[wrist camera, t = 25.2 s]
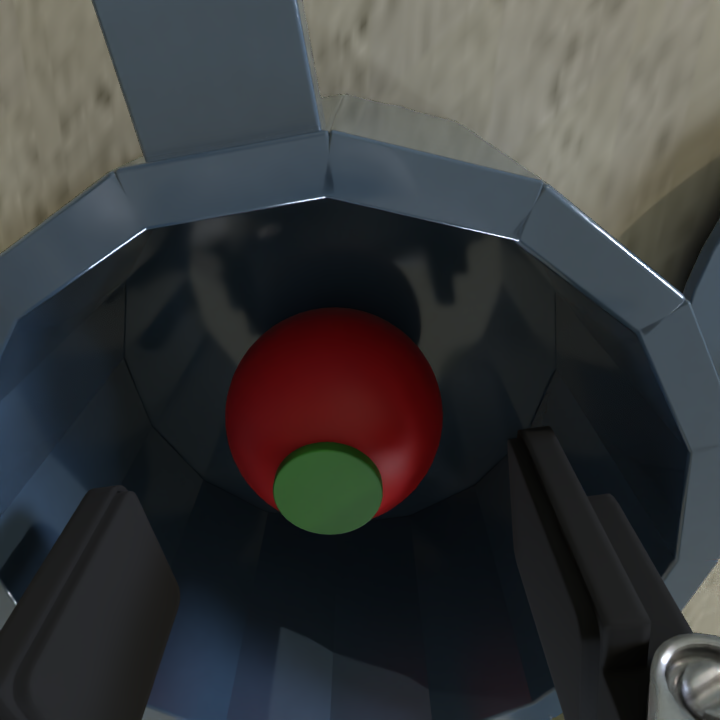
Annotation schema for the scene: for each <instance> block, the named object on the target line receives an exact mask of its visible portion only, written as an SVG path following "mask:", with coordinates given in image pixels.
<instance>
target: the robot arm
mask: <svg viewBox="0 0 720 720" xmlns="http://www.w3.org/2000/svg"><path fill="white" fill-rule="evenodd" d="M507 448H508V464H509V481H510V497H511V514H512V531H513V546H514V553H515V558H516V563H517V566H518V569H519V573H520V576H521V579H522V582H523V586H524V589H525V592H526V595H527V599H528V602H529V605H530V608H531V612H532V615H533V618H534V621H535V625H536V628H537V631H538V634H539V638H540V641H541V644H542V647H543V651H544V654H545V657H546V660H547V664H548V667H549V670H550V673H551V677H552V680H553V683H554V686H555V690H556V693H557V696H558V699H559V702H560V706H561V709H562V712H563V715H564V719H565V720H720V637H718V636H715V635H709V634H702V633H693V632H692V630H691V628H690V627H689V625H688V623H687V621H686V620H685V618H684V616H683V614H682V613H681V611H680V609H679V608H678V606H677V604H676V602H675V601H674V599H673V597H672V595H671V594H670V592H669V590H668V588H667V587H666V585H665V583H664V581H663V580H662V578H661V576H660V575H659V573H658V571H657V569H656V568H655V566H654V564H653V562H652V561H651V559H650V557H649V555H648V554H647V552H646V550H645V549H644V547H643V545H642V543H641V542H640V540H639V538H638V536H637V535H636V533H635V531H634V529H633V528H632V526H631V524H630V522H629V521H628V519H627V517H626V516H625V514H624V512H623V510H622V509H621V507H620V505H619V503H618V502H617V501H616V499H615V498H614V496H612V495H611V494H610V493H609V494H601V495H593V496H586V494H585V492H584V490H583V488H582V486H581V484H580V482H579V480H578V478H577V476H576V474H575V472H574V470H573V468H572V467H571V465H570V463H569V461H568V459H567V457H566V455H565V453H564V451H563V449H562V447H561V445H560V443H559V441H558V439H557V437H556V435H555V433H554V431H553V430H552V428H551V427H550V426H542V427H535V428H528V429H521V430H518V433H517V438H515V439H508V442H507ZM179 604H180V589H179V586H178V583H177V581H176V579H175V577H174V575H173V573H172V570H171V568H170V566H169V564H168V562H167V560H166V557H165V555H164V553H163V551H162V549H161V547H160V545H159V542H158V540H157V538H156V536H155V534H154V532H153V529H152V527H151V525H150V523H149V521H148V519H147V517H146V514H145V512H144V510H143V508H142V506H141V504H140V502H139V499H138V497H137V495H136V494H135V493H134V492H133V491H128V490H127V489H126V488H125V487H124V486H123V485H115V486H108V487H101V488H93V489H91V490H89V491H88V492H87V493H86V494H85V496H84V497H83V499H82V501H81V502H80V504H79V505H78V507H77V509H76V510H75V512H74V513H73V515H72V517H71V518H70V520H69V521H68V523H67V525H66V526H65V528H64V529H63V531H62V533H61V534H60V536H59V537H58V539H57V541H56V542H55V544H54V545H53V547H52V549H51V550H50V552H49V553H48V555H47V557H46V558H45V560H44V562H43V563H42V565H41V566H40V568H39V570H38V571H37V573H36V574H35V576H34V578H33V579H32V581H31V582H30V584H29V586H28V587H27V589H26V590H25V592H24V594H23V595H22V597H21V598H20V600H19V602H18V603H17V605H16V606H15V608H14V610H13V611H12V613H11V614H10V616H9V618H8V619H7V621H6V622H5V624H4V626H3V627H2V629H1V630H0V720H142V718H143V715H144V711H145V708H146V705H147V702H148V699H149V696H150V693H151V690H152V687H153V684H154V681H155V678H156V675H157V672H158V669H159V666H160V663H161V660H162V657H163V653H164V650H165V647H166V644H167V641H168V638H169V635H170V632H171V629H172V626H173V623H174V620H175V617H176V614H177V611H178V608H179Z"/></svg>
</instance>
